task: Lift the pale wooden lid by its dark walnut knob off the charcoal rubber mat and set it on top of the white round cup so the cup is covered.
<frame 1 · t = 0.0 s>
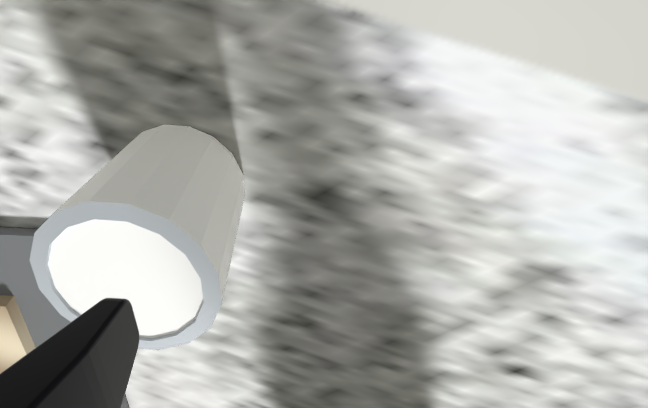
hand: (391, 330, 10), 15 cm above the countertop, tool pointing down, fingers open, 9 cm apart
white round cup: (184, 178, 26), on the countertop
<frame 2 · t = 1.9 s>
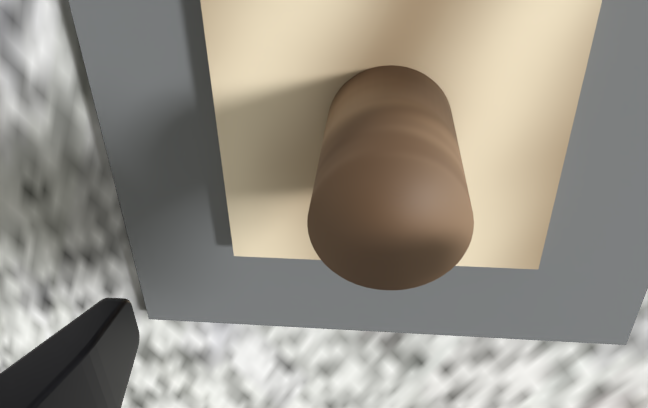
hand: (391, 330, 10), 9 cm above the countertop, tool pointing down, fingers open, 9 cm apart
lid: (389, 113, 17), point 1 cm above the countertop, touching mat
mat: (389, 104, 18), on the countertop
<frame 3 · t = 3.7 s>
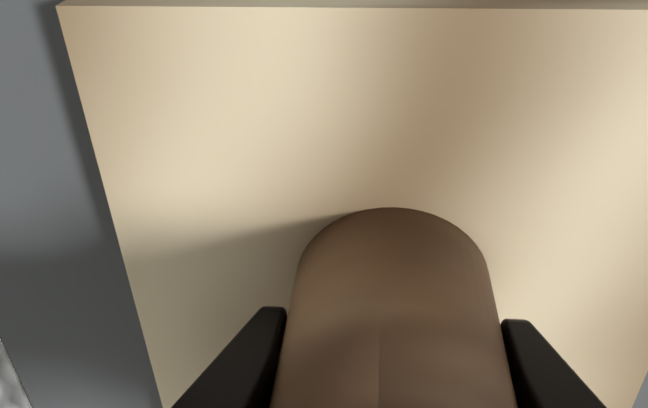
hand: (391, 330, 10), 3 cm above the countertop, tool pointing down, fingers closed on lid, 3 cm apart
lid: (390, 259, 11), point 1 cm above the countertop, touching gripper, mat
mat: (390, 240, 12), on the countertop
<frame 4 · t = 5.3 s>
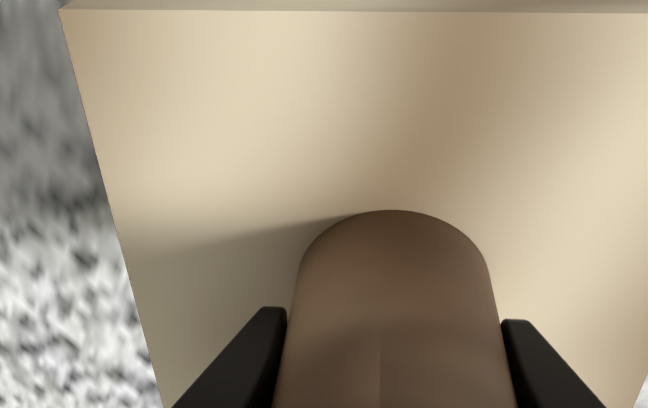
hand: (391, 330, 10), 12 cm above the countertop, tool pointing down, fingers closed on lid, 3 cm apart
lid: (391, 261, 11), point 10 cm above the countertop, touching gripper
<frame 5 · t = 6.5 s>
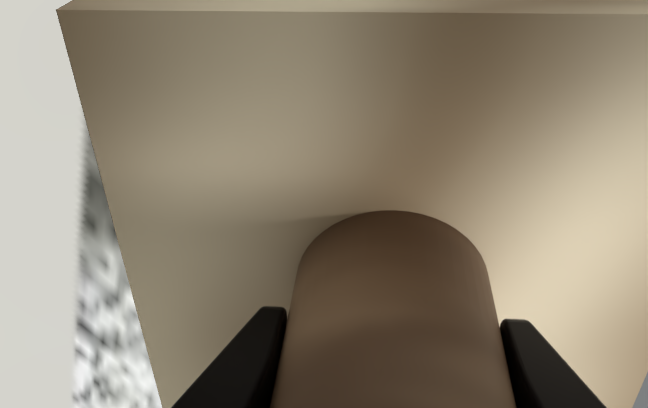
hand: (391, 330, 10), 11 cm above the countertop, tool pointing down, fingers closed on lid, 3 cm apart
lid: (390, 261, 11), point 9 cm above the countertop, touching gripper
when the fingers open (10 cm above the countertop, at t = 7.2 s): lid drops 1 cm, resting on white round cup.
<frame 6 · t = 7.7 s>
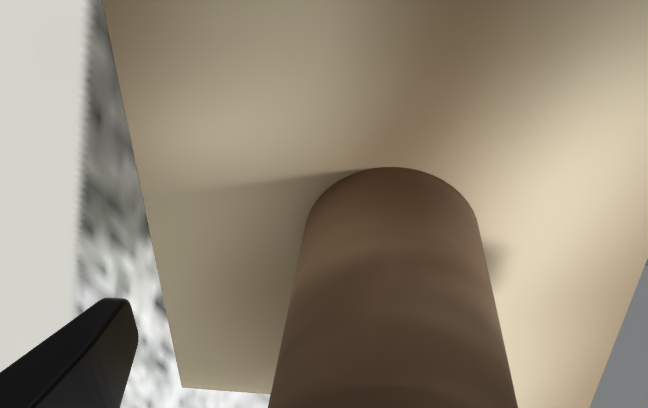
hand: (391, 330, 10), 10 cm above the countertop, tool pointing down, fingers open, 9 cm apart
lid: (390, 219, 12), point 7 cm above the countertop, touching white round cup
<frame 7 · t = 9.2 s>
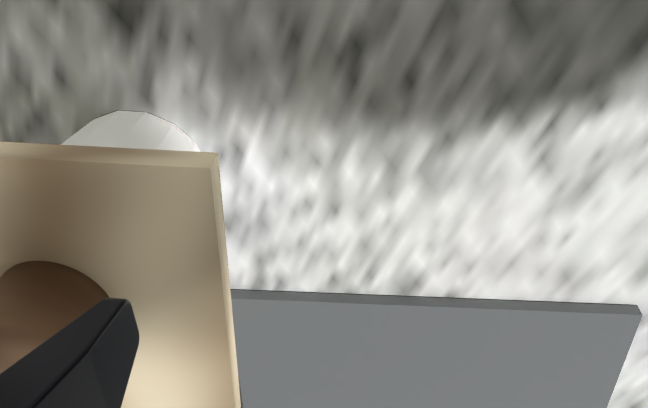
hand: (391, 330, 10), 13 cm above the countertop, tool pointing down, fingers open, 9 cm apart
white round cup: (143, 171, 24), on the countertop, touching lid
lid: (69, 289, 18), point 7 cm above the countertop, touching white round cup
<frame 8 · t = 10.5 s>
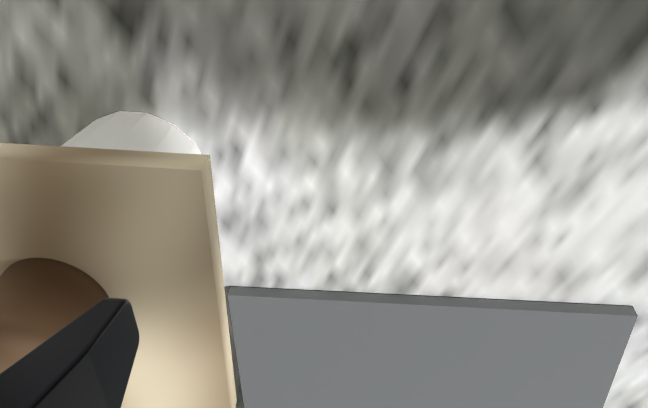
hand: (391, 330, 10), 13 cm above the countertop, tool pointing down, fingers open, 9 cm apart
white round cup: (145, 170, 24), on the countertop, touching lid
lid: (69, 285, 18), point 7 cm above the countertop, touching white round cup
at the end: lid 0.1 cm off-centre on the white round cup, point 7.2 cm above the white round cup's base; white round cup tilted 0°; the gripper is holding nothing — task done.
